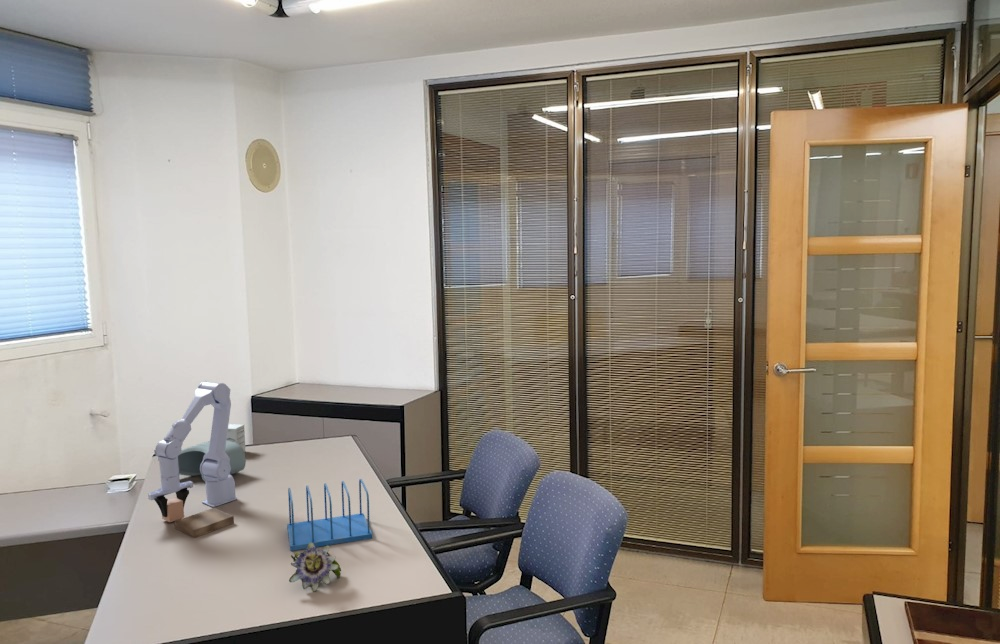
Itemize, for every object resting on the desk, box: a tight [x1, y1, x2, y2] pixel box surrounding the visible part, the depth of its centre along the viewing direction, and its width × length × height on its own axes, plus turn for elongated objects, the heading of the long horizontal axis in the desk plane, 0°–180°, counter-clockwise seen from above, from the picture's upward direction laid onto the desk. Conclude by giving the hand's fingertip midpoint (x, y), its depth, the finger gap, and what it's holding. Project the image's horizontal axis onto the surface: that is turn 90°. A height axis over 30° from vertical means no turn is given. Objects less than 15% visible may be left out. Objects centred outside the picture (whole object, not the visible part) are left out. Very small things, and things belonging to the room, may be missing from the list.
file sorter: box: [286, 478, 373, 552], centre depth 224 cm, size 25×17×15 cm
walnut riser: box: [174, 507, 235, 539], centre depth 232 cm, size 14×12×2 cm
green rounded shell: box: [178, 440, 247, 482], centre depth 278 cm, size 22×19×13 cm
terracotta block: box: [161, 496, 185, 523], centre depth 236 cm, size 5×5×6 cm
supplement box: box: [227, 423, 246, 453], centre depth 307 cm, size 7×7×13 cm
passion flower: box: [288, 542, 342, 593], centre depth 193 cm, size 13×12×14 cm
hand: (172, 513), depth 236 cm, fingers closed on terracotta block, 5 cm apart
